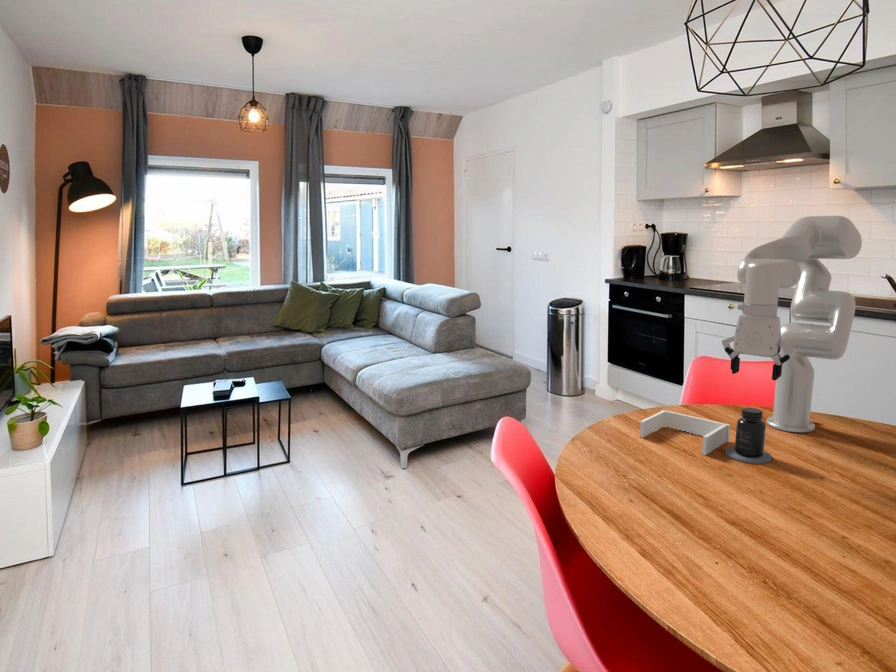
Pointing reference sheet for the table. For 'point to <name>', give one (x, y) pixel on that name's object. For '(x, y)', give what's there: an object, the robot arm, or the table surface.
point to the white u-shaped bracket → (689, 428)
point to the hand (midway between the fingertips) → (754, 375)
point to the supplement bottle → (750, 433)
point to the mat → (760, 460)
